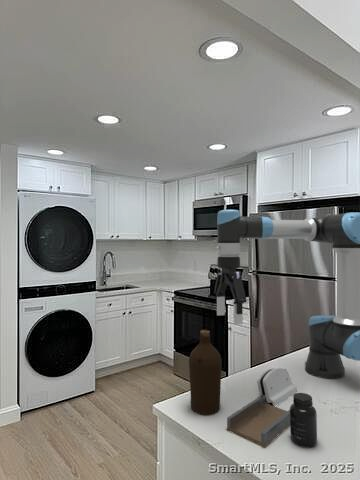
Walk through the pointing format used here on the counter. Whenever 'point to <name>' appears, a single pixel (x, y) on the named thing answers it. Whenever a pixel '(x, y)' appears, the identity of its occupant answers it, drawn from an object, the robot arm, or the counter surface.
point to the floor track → (259, 421)
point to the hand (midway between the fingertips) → (229, 319)
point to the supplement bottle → (303, 421)
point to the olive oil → (205, 376)
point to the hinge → (276, 385)
